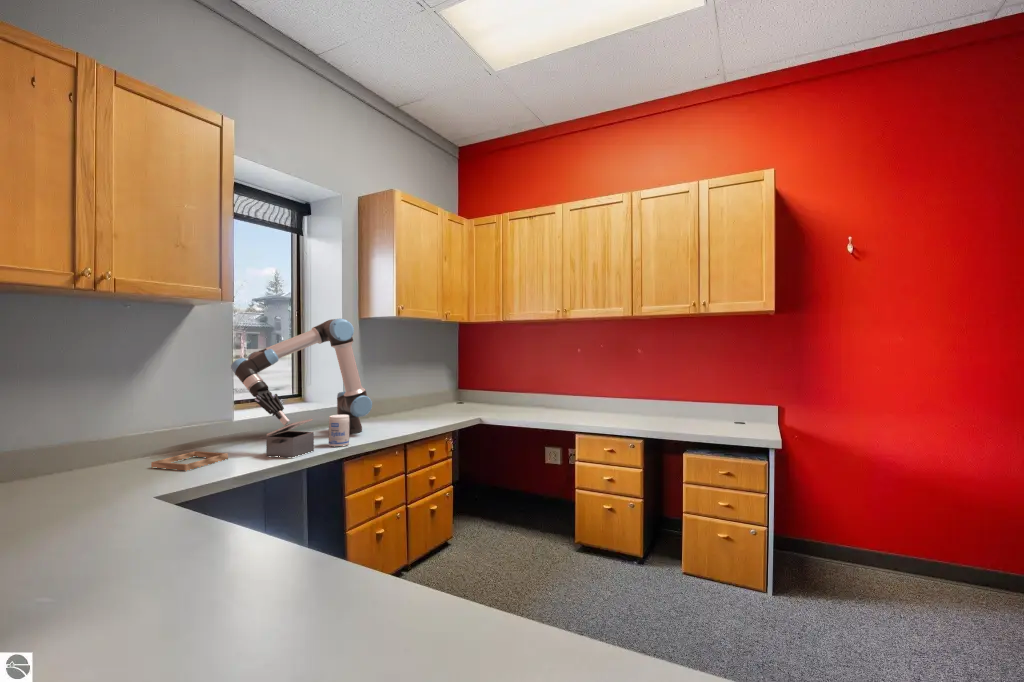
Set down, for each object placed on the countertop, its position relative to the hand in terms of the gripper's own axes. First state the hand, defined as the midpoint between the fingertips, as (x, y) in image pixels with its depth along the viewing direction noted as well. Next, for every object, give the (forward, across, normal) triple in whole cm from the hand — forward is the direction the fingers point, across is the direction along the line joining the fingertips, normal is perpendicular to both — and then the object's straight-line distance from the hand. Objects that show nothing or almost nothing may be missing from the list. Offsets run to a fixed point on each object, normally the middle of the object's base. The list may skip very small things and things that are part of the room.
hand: (286, 423), depth 220 cm
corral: (-9, +25, -29) cm, 39 cm away
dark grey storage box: (+11, 0, -8) cm, 14 cm away
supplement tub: (+19, -21, -1) cm, 29 cm away
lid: (+3, 0, 0) cm, 3 cm away
